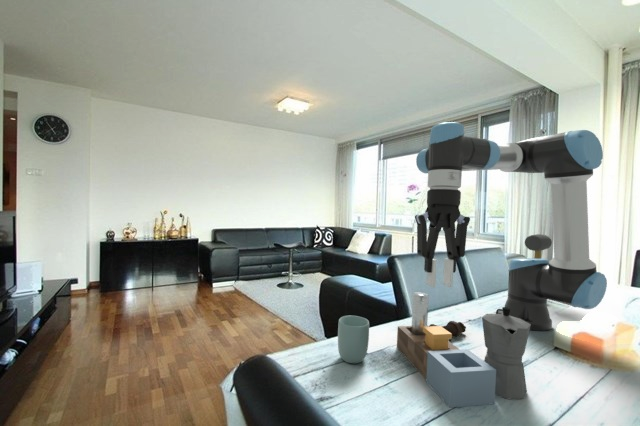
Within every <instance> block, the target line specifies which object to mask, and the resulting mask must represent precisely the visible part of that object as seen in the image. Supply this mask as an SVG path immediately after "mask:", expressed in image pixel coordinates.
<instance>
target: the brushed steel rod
mask: <svg viewBox="0 0 640 426" xmlns="http://www.w3.org/2000/svg"><path fill="white" fill-rule="evenodd" d="M412 293H413V294H412V307H411V308H412V310H411V311H412V313H411V326H412V328H411V333H412V334H413V335H415V336H416V335H426V334H425V333H424V332H423V327H427V325H428V317H429V296H430V295H429V294H428V293H425V292H419V291H417V292H416V291H415V292H412Z"/></svg>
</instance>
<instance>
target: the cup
mask: <svg viewBox="0 0 640 426" xmlns="http://www.w3.org/2000/svg"><path fill="white" fill-rule="evenodd" d="M337 326H338V328H337V350H338V354H339V357H340V358H341V359H342V360H343V361H344V362H345V363H348V364H360V363H362V362H363V361H364V360H365V359H366V356H367V354H368V353H367V352H368V349H369V342H370V341H369V340H370V339H369V338H370V321H369V320H368V319H367V318H365V317H362V316H358V315H343V316H341V317H340V318H339V319H338V325H337Z"/></svg>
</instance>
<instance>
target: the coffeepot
mask: <svg viewBox="0 0 640 426" xmlns="http://www.w3.org/2000/svg"><path fill="white" fill-rule="evenodd" d="M510 310H511V309H510V308H508V307H504V306H503V307H501V308H498V309H496V311H495V313H486V314H484V315H483V316H482V317H481V319H482V329H483V330H482V331H483V337H484V338H483V339H484V347H486V354H485V356H484V359H483V361H485V362H486V363H487V364H489V365H490V366H492V367H493V368H494V369H496V384H495V396H497V397H500V398H504V399H506V400H513V401H516V400H517V401H518V400H522V399H524V398H525V397H526V395H527V393H528V388H527V382H526V374H525V367H524V363H523V357H524V354H525V352H526V347H527V343H528V338H529V334H530V326H531V324H529V323H527V322H525V321H524V320H522V319H520V318H516V317H513V316H509V314H510Z"/></svg>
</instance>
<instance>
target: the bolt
mask: <svg viewBox="0 0 640 426" xmlns="http://www.w3.org/2000/svg"><path fill="white" fill-rule="evenodd" d="M428 326H438V325H437V324H434V323H432V324H429V325H428ZM441 327H443V328H444V329H446V330H447V331H448V332H450V333H451V334H452V338H459V337H460V336H461V335H462V333H465V332H466V331H467V330H466V329H467V326H466V325H464V323H463V322H461V321H458V322H456V321H454V320H449V322H447V324H446V325H443V326H441Z"/></svg>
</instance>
